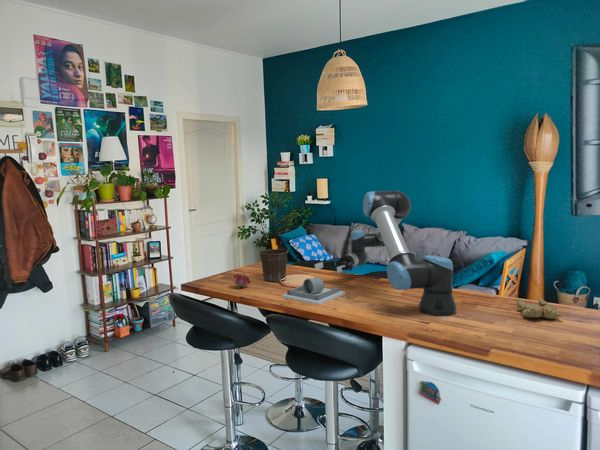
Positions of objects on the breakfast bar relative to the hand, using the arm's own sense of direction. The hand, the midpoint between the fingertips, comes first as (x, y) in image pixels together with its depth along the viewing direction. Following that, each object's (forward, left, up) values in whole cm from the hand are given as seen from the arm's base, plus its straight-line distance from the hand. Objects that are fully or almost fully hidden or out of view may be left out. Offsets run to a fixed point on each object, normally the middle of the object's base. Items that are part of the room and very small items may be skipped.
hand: (326, 268), depth 225 cm
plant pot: (+36, +10, -12) cm, 39 cm away
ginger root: (-83, -46, -12) cm, 95 cm away
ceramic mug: (-3, +10, -10) cm, 15 cm away
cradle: (-4, +10, -11) cm, 16 cm away
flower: (+31, +32, -12) cm, 46 cm away
